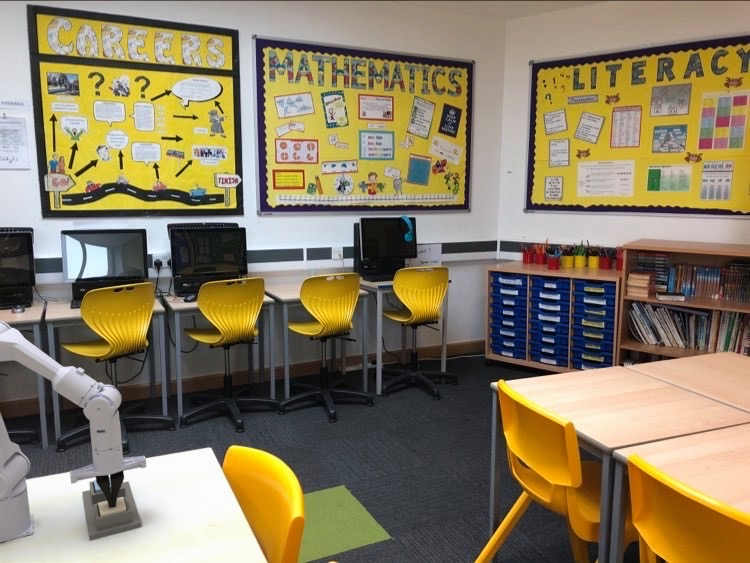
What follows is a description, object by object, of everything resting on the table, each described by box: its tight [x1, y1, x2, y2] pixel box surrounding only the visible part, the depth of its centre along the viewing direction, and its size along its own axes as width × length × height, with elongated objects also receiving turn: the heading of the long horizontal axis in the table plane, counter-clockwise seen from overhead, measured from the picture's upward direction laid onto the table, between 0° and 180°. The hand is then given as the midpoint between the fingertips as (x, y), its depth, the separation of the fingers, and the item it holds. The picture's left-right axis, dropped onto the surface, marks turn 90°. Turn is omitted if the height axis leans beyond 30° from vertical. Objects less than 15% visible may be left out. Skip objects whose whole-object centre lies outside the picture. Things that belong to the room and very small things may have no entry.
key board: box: [82, 480, 143, 541], centre depth 136 cm, size 10×20×4 cm, turn 28°
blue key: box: [93, 476, 111, 493], centre depth 141 cm, size 5×5×2 cm
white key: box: [98, 497, 126, 517], centre depth 131 cm, size 5×5×2 cm
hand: (112, 505), depth 131 cm, fingers closed, pressing on white key
